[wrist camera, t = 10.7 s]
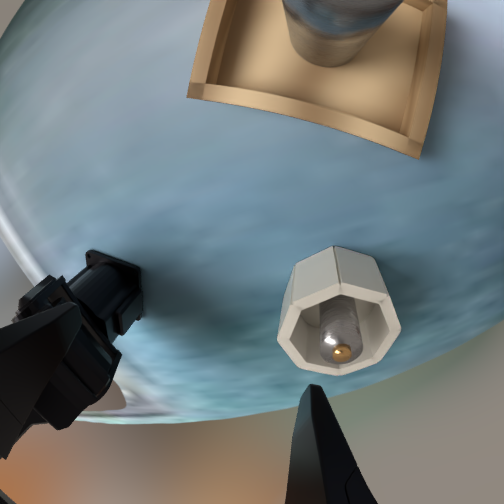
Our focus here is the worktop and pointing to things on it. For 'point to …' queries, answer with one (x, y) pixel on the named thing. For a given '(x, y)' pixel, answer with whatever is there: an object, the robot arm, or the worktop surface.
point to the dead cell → (339, 330)
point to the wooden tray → (326, 71)
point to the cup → (325, 287)
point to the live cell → (334, 27)
